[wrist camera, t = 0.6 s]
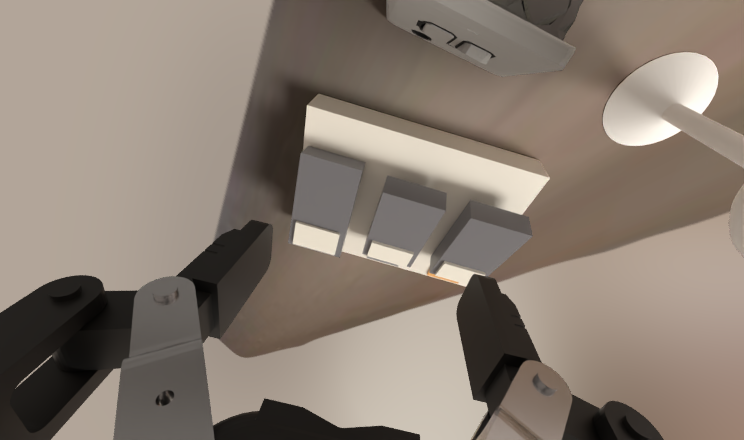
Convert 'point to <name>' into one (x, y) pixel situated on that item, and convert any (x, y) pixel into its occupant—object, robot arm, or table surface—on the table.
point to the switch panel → (418, 168)
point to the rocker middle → (403, 221)
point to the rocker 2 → (479, 242)
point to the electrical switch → (493, 31)
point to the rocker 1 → (324, 200)
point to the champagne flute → (675, 114)
